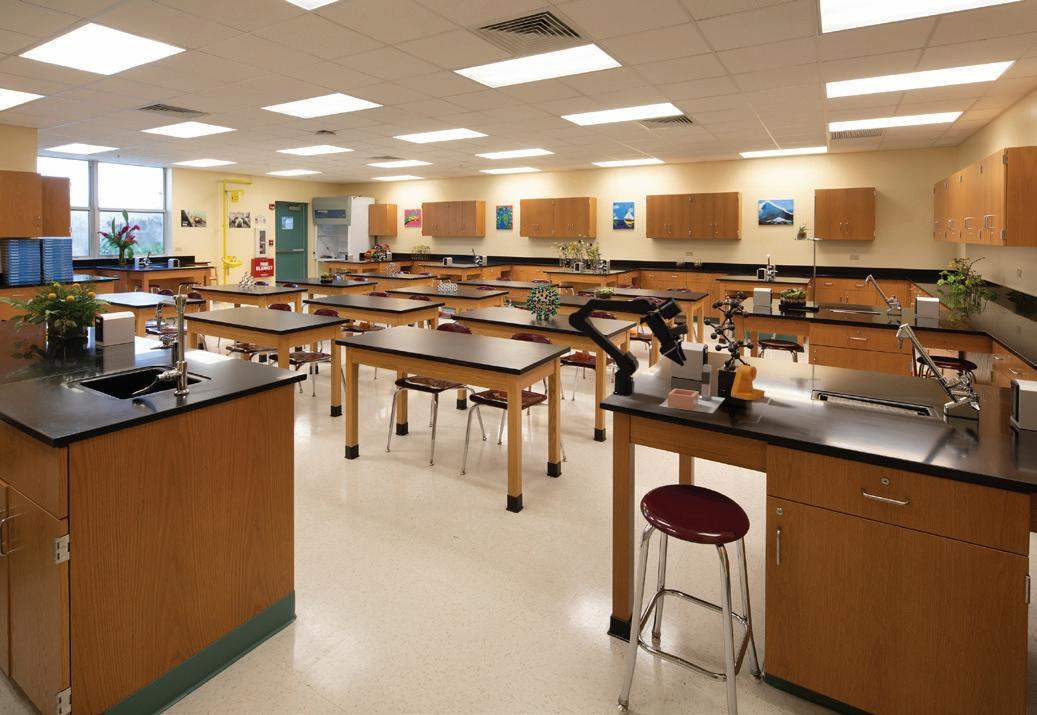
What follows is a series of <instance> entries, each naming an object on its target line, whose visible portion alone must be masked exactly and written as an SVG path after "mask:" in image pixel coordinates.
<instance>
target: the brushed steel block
mask: <svg viewBox="0 0 1037 715" xmlns="http://www.w3.org/2000/svg"><path fill="white" fill-rule="evenodd" d="M712 367H713V365H712V364H707V363H704V364H703V366H702V371H701V380H700V381H701V383H700V384H701V390H700V391H701V392H700V393H701V394H699V395H700V396H699V399H700V400H703V401H710V400H712V397H713V396H711V384H712V378H713V369H712Z"/></svg>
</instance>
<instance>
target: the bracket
mask: <svg viewBox="0 0 1037 715" xmlns="http://www.w3.org/2000/svg"><path fill="white" fill-rule="evenodd" d="M757 370H758V369H757V367H755V366H753V365H746V364H740V365H739V366H738V367H737V368H736V373H735V377H734V381H733V383H732V387H731V391H730V397H732V398H737V399H741V400H745V401H755V400H759V399H762V397H765V393H766V392H765V390H763V389H758V388H754V384H753V382H754V381H755V379H756V377H757V373H758V372H757Z"/></svg>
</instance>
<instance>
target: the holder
mask: <svg viewBox="0 0 1037 715" xmlns="http://www.w3.org/2000/svg"><path fill="white" fill-rule="evenodd" d="M699 395H700V392H699V391H696V390H691V389H689V390H688V389H682V388H681V389H680V388H673V389H672V390H671V391H670V392H668V393H667V399H668V407H667V408H670V407H675V408H674V409H677V408H683V409H682V410H685V409H690V410H689V411H692V410H693V409H694V408H695V407H696V406H697V405H698V399H699Z"/></svg>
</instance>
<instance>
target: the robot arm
mask: <svg viewBox="0 0 1037 715" xmlns="http://www.w3.org/2000/svg"><path fill="white" fill-rule="evenodd" d="M596 310H603V311H604V310H605V311H625V312H628V313H632V314H637V315H643V316H640V317H639V319H640V320H639V324H638V325H640V326H642V325H643V324H644V323H645V324H646V326H647V327H648V328H649V329H650V331H651V333H652V334H653V337H654V338H656V339H657V341H658V343H660V344H659V346H660V347H659V350H658V351H659V353H660V355H661V356H663V357H665V358H667V359H669V360H671V361H673V362H675V364H677V365H679V366H680V367H683V366H685V363H684V362H686V361H687V356H686V354H685V352H684V349H683V347H682V344H683V337H682V335H687V334H689V332H690V331H689V328H688V327H689V326H688V324H687V323H684V322H683V321H679V322H677V324H676V325H675V326H670V324H667V323H666V320H668V321H671V320H673V319H674V318H675V317H676V316H678V315H680V314H681V313H683V312H684V310H683V308H682V306H681V305H680V304H679V302H677V300H676V299H674V297H673V296H670V297H668V298H667V299H665V300H664V301H663V302H662V303H661V304H660V303H656V302H653V301H652V300H651V299H650V298H648V297H639V298H631V299H607V298H597V297H596V298H595V297H594V298H590V299H588V301H587V302H586V303H585V304H584V305H583V306H581V307H580V308H579V309H578V310H577V311H575V312H572V313H571V314H569V317H568V324H569V326H570V327H571V328H573V329H575V330H577V332H581V333H582V334H584V335H586V336H588V338H589V339H590V340H592V341H593V342H594V343H595V344H596V345H597V346H598V347H600V348H601V350H602V351H603V352H605V353H606V354H607V355H608V356H609V357H610V358H612V360H613V361H614V363H615V365H616V366H617V368H618V370H617V371H615V373H614V389H613V390H614V391H613V392H612V394H613V393H615V392H617V393H615V394H614V395H621V396H627V395H629V396H631V395H632V394H634V393H635V381H634V376H633V375H634V374H636V372H637V371H638V369H639V366H640V362H639V360H638V359H637V358H638V357H637V356H635V355H633V353H632V352H631V351H630V350H628V351H627V352H625V351H623V350H621V349H620V348H619V347H618V346H617V345H615V343H613V341H611V340H610V339H609V338H608V337H606V336H605V335H604V334H603V332H601V331H600V330H599V329H598V328H597V327H595V325H594V323H593V321H592V320H591V319H590V316H591V315H592V313H594V312H595V311H596ZM657 310H658V311H657ZM655 311H656V312H655ZM652 312H655V313H652ZM646 314H647V315H646ZM644 315H645V316H644ZM633 392H634V393H633ZM630 394H631V395H630Z"/></svg>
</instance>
